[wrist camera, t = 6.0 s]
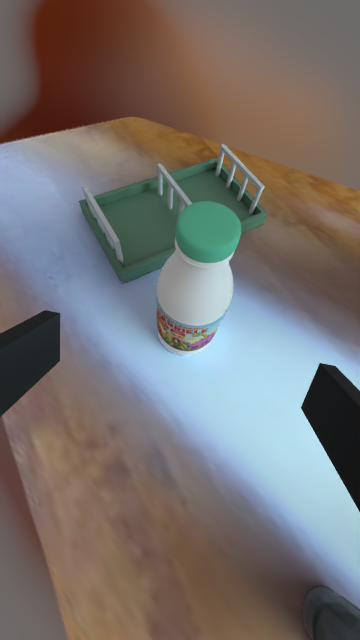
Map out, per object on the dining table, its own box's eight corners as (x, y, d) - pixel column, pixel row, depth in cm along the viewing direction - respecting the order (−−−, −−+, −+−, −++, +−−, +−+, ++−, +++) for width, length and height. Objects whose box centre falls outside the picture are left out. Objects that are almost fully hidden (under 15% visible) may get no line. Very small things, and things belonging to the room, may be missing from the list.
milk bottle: (162, 302, 37) (164, 175, 19) (214, 311, 37) (266, 192, 19) (152, 352, 34) (142, 258, 16) (209, 361, 34) (265, 278, 16)
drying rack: (214, 169, 50) (221, 135, 44) (262, 224, 45) (277, 193, 39) (83, 213, 43) (71, 179, 37) (122, 284, 38) (115, 257, 32)
